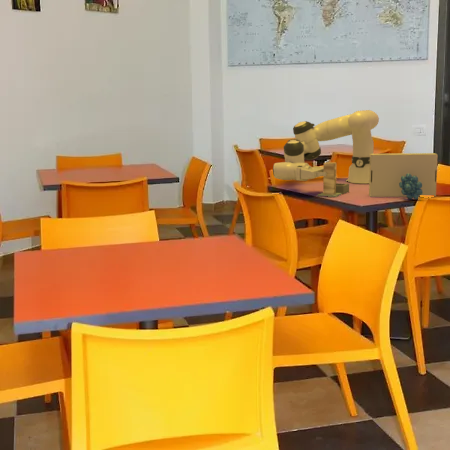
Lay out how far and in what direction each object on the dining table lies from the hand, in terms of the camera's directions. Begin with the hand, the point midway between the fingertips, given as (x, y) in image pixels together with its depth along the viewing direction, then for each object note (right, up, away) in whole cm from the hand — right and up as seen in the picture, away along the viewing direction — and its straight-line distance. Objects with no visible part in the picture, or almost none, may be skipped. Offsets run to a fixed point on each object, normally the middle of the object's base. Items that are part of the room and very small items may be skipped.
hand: (330, 173), depth 324 cm
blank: (0, -10, +2) cm, 10 cm away
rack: (+5, -9, +11) cm, 15 cm away
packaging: (+34, -11, -3) cm, 36 cm away
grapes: (+34, -14, -14) cm, 39 cm away
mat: (0, -11, +2) cm, 11 cm away
